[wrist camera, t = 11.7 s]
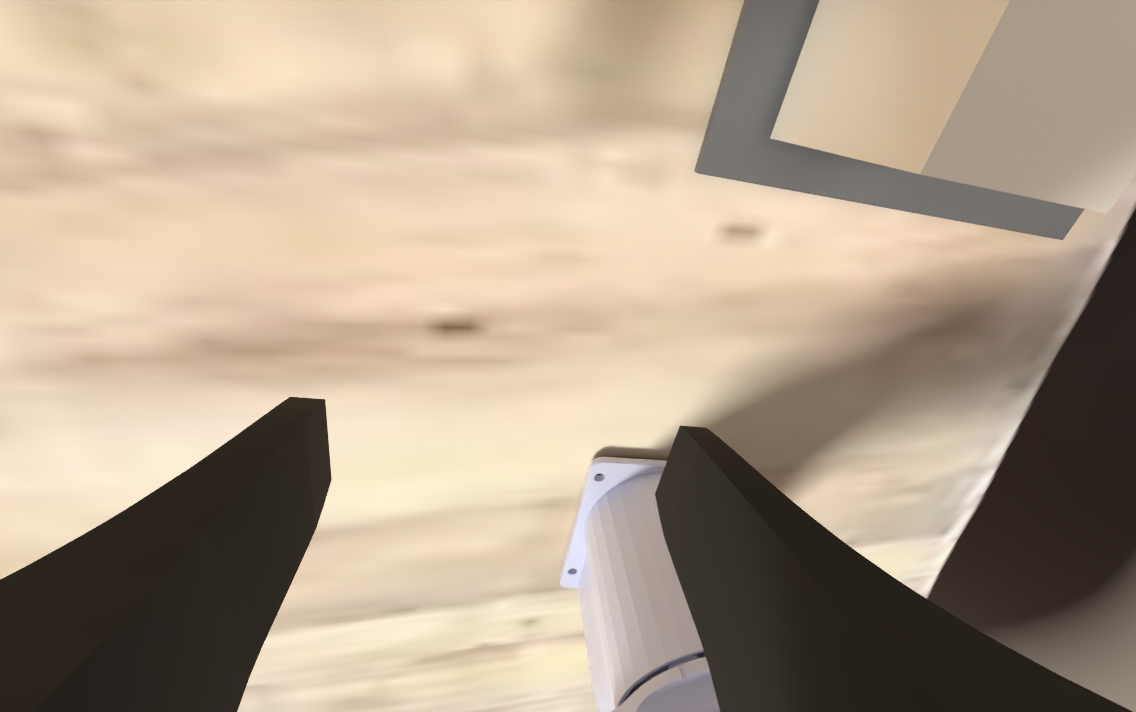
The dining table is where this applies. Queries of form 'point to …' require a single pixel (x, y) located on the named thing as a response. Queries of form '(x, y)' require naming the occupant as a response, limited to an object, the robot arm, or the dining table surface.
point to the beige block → (974, 93)
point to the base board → (748, 153)
